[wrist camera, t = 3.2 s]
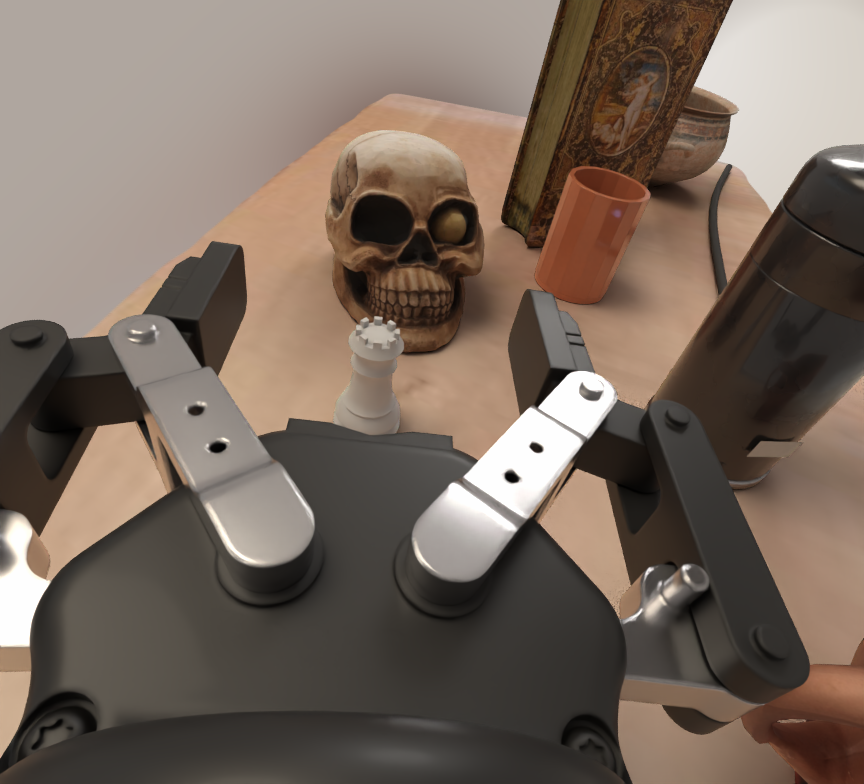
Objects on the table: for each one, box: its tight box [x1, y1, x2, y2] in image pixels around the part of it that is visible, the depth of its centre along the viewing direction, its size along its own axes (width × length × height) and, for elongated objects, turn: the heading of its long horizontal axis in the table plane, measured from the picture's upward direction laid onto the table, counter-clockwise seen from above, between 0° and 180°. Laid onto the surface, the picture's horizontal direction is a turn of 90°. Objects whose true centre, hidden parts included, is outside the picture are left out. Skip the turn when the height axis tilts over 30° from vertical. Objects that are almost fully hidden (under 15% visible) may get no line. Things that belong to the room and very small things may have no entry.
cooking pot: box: [648, 86, 739, 186], centre depth 78 cm, size 25×19×12 cm
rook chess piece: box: [333, 316, 404, 435], centre depth 32 cm, size 4×4×8 cm
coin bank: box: [325, 130, 484, 352], centre depth 45 cm, size 16×17×13 cm
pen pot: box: [535, 166, 651, 304], centre depth 50 cm, size 7×7×10 cm
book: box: [501, 0, 733, 247], centre depth 54 cm, size 16×6×25 cm, turn 116°
